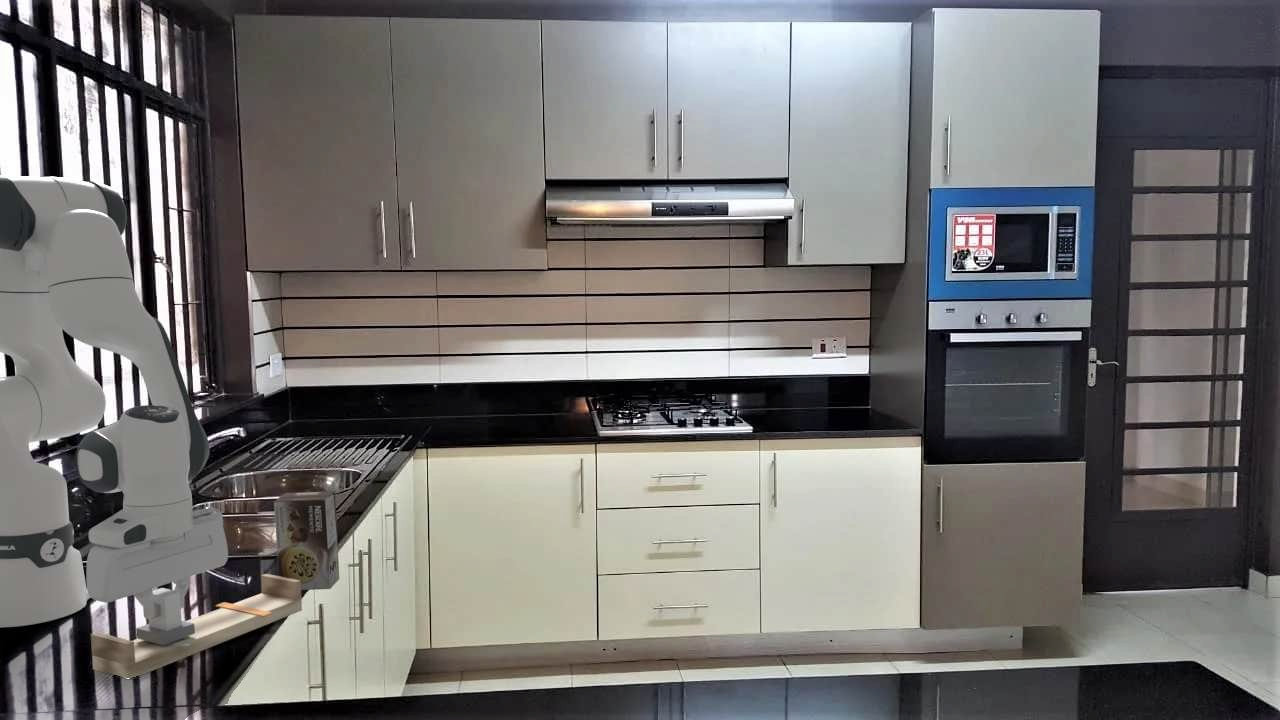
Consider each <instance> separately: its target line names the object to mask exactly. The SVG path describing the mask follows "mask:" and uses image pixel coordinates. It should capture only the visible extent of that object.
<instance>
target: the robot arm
mask: <svg viewBox="0 0 1280 720" xmlns="http://www.w3.org/2000/svg"><path fill="white" fill-rule="evenodd" d="M127 217H128V215H127V208H126V205H125V202H124V201H123V198H122V197H121V195H120V193H119V192H118V191H117V190H116V189H115V188H114V187H111V186H108V185H107V184H103V183H100V182H96V181H92V180H90V181H89V180H87V181H82V180H77V179H73V178H66V177H57V176H48V175H47V176H42V177H41V176H40V177H39V176H6V175H3V174H1V175H0V353H3V355H4V354H5V355H7V356H10V358H11V359H12V361H13V363H14V366H15V375H11V376H1V377H0V628H14V627H23V626H30V625H36V624H41V623H46V622H51V621H54V620H57V619H60V618H61V619H62V618H64V617H67V616H70V615H72V614H74V613H77V612H79V611H81V610H82V609H83V608H85V607H86V606H87V601H88V600H89V599H93V600H94V601H97V602H101V603H106V604H107V603H112V602H115V601H118V600H121V599H124V598H126V597H127V598H128V597H130V596H133V595H134V597H135V599H136V600H137V601H138V603H139V604H140V605H141V606H142V608H143V617H144V619H147V620H148V619H153V618H155V617H158V616H160V615H161V612H160V605H159V604H155V603H153V602H152V601H151V599H150V598H149V596H152V595H153V591H154V590H153V589H155V588H158V587H161V586H164V585H167V584H171V583H173V584H175V587H174V589H173V590H174V591H179V592H180V602H181V610H182V609H184V608H185V597H186V594H187V592H188V590H189V588H190V585H191V584H192V581H191V577H193V576H195V575H199V574H202V573H205V572H208V571H212V570H215V569H217V568H220V567H223V566H225V565H226V563H227V561H228V559H229V550H228V549H229V548H228V543H227V538H226V532H225V529H224V518H223V517H224V516H223V513H222V512H221V511H220V510H219V509H217V508H214V506H207V507H204V508H202V509H195V510H193V497H192V490H191V489H190V485H189V482H190V481H192V480H193V479H195V478H196V477H197V476H198V475H199V474H200V472H201V471H202V470H203V468H204V467H205V465H206V463H207V461H208V459H209V456H210V442H209V439H208V436H207V434H206V431H205V429H204V427H203V426H202V424H201V422H200V420H199V419H198V417H197V415H196V413H195V410H194V407H193V405H192V401H191V398H190V395H189V392H188V390H187V386H186V384H185V380H184V377H183V375H182V372H181V368H180V366H179V363H178V361H177V357H176V354H175V351H174V348H173V346H172V344H171V341H170V338H169V336H168V334H167V332H166V329H165V327H164V326H163V324H162V322H161V321H160V320H159V319H157V318H156V317H154V316H152V315H151V314H150V313H149V312H148V311H147V309H146V307H145V306H144V305H143V303H142V302H141V300H140V298H139V296H138V294H137V290H136V287H135V282H134V277H133V273H132V272H133V271H132V267H131V263H130V259H129V256H128V252H127V249H126V246H125V243H124V239H123V237H122V235H123V234H124V232H125V230H126V227H127V220H128V219H127ZM63 331H64V332H65V333H66V334H67V335H69V336H70V337H71V338H74V339H75V340H77V341H78V342H80V343H81V342H82V343H84V344H85V345H89V346H91V347H94V348H98V349H102V350H106V351H109V352H112V353H115V354H118V355H119V356H122V357H125V358H126V359H127V360H129V361H131V362H132V363H133V364H134V365H135V366H136V368H138V369H139V372H140V373H141V376H142V379H143V382H144V384H145V387H146V390H147V393H148V397H149V399H150V403H151V405H150V404H149V405H148V404H147V405H137V406H132V407H131V408H127V409H126V410H125V411H123V413H122V414H121V416H120V417H119V420H117V421H116V422H114V423H112V424H110V425H107V426H104V427H102V428H100V429H96V430H93V431H90V432H88V433H86V435H85V436H84V437H83V438H82V439H81V441H80V443H79V444H78V446H77V449H76V451H75V456H74V457H75V460H74V461H75V469H76V474H77V477H78V479H79V480H80V481H81V482H82V484H84V485H85V486H86V487H87V488H89V489H90V490H92V491H94V492H96V493H99V494H103V493H104V494H112V493H117V492H122V493H123V501H122V507H123V508H122V509H120V510H119V511H118V512H116V513H115V514H113V515H112V516H109V517H108V518H106V519H105V520H103V521H101V522H99V523H98V524H96V525H95V526H93V527H91V528H90V529H89V531H88V541H89V542H90V543H92V544H94V545H93V546H92V547H91V548H90V550H89V552H88V555H87V559H86V577H85V573H84V572H85V570H84V566H83V560H82V555H81V552H80V550H78V549H76V548H75V547H73V544H74V542H75V540H74V536H75V532H74V531H75V530H74V528H73V526H74V525H73V522H72V521H70V515H69V514H70V513H69V501H68V500H69V499H68V486H67V485H68V484H67V480H66V479H65V477H64V476H63V475H62V474H63V473H61V472H60V471H58V469H55V468H54V467H51V466H49V465H46V464H43V463H40V462H36V461H35V460H34V458H33V456H32V454H31V450H30V447H29V446H30V443H35V442H42V441H48V440H53V439H55V440H56V439H59V438H60V439H61V438H66V437H67V438H68V437H71V436H74V435H77V434H80V433H82V432H84V431H87V430H90V429H92V428H94V427H96V426H98V424H99V423H100V422H101V420H102V419H103V417H104V414H105V411H106V396H105V392H104V389H103V387H102V386H101V385H100V383H99V381H97V380H96V378H94V377H93V376H91V375H90V374H89V373H87V372H86V371H84V370H83V369H82V368H81V367H80V366H79V365H78V364H77V363H76V362H75V360H74V359H73V357H72V355H71V354H70V352H69V350H68V348H67V345H66V342H65V338H64V333H63Z"/></svg>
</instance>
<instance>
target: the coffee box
mask: <svg viewBox="0 0 1280 720" xmlns="http://www.w3.org/2000/svg"><path fill="white" fill-rule="evenodd" d="M336 507H337V506H336V491H334V490H332V491H330V490H329V491H303V492H301V491H300V492H285V493H283V494H282V495H280V496H279V497H278V498H277V499H276V500H274V501H273V510H274V512H273V513H274V523H275V524H274V525H275V538H276V539H275V541H276V553H277V554H276V555H277V557H276V559H277V573H278V575H277V576H280V577H285V578H291V579H296V580H301V591H310V590H311V591H312V590H313V591H315V590H317V591H318V590H331V589H332V588H333V586H335V584H337V582H338V581H339V580H340V566H339V546H338V525H337V511H336V510H337V508H336Z"/></svg>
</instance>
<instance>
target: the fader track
mask: <svg viewBox="0 0 1280 720" xmlns="http://www.w3.org/2000/svg"><path fill="white" fill-rule="evenodd" d="M260 580H261V593H259V594H256V595H253V596H251V597H248V598H244V599H243V600H239V601H237V602H234V603H229V602H225V601H224V602H220V603H218V604H216V605H215V607H217V608H218V609H216V610H213V611H209V612H207V613H205V614H201V615H199V616H195V617H193V618H190V619H188V620H185V621H186V622H190V623H194V627H195V634H192V635H190V636H187V637H184V638H182V639H179V640H177V641H174V642H171V643H169V644H166V645H160V644H157V643H153V642H149V641H145V640H141V639H137V638H136V639H133V640H129V639H125V638H122V637H117V636H114V635H110V634H106V633H103V632H99V631H96V632H94V633H90V641H91V642H90V643H91V644H90V645H91V657H92V660H91V661H92V670H95V671H98V672H102V673H105V674H108V675H111V674H112V675H111V676H114V675H118V676H121V677H125V678H133V677H135V678H137V677H136V676H138V677H140V676H143V675H145V674H147V672H148V673H150V672H152V671H155V670H157V669H160V668H162V667H165V666H167V665H170V664H172V663H175V662H177V661H180V660H183V659H185V658H188V657H189V656H192V655H195V654H197V653H199V652H200V653H201V652H202V651H204V650H208V649H209V648H212V647H214V646H217V645H220V644H222V643H224V642H227V641H230V640H233V639H235V638H237V637H240V636H242V635H244V634H247V633H249V632H252V631H254V630H257V629H259V628H262V627H264V626H267V625H269V624H271V623H274V622H277V621H278V620H279V621H280V620H281V619H284V618H286V617H289V616H291V615H294V614H296V613H299V612H301V611H302V610H303V603H302V590H301V580H296V579H291V578H285V577H280V576H278V575H275V574H268V573H265V574H261V579H260ZM135 636H136V637H137V634H136V633H135ZM142 674H143V675H142ZM139 675H140V676H139ZM118 676H117V677H118ZM121 677H120V678H121ZM125 678H124V679H125ZM133 679H134V678H133Z"/></svg>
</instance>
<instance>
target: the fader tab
mask: <svg viewBox="0 0 1280 720" xmlns="http://www.w3.org/2000/svg"><path fill="white" fill-rule="evenodd" d="M149 598H150V599H151V601H152V602H153V603H155V604H159V605H160V612H161V615H160V616H158V617H155V618H153V619H147V620H148V623H147V624H145V625H141V626H139V627H135V628H136V629H135V630H136V631H135V632H136V633H135V634H137V636H136V639H141V640H145V641H149V642H153V643H157V644H160V645H166V644H169V643H171V642H174V641H177V640H179V639H182V638H184V637H187V636H190V635H192V634H195V627H194V623H190V622H186V621H187V620H182V609H181V602H180V592H179V591H174V589H169V588H165V587H160V588H157V589H155V590H153V595H152V596H149Z"/></svg>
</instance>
